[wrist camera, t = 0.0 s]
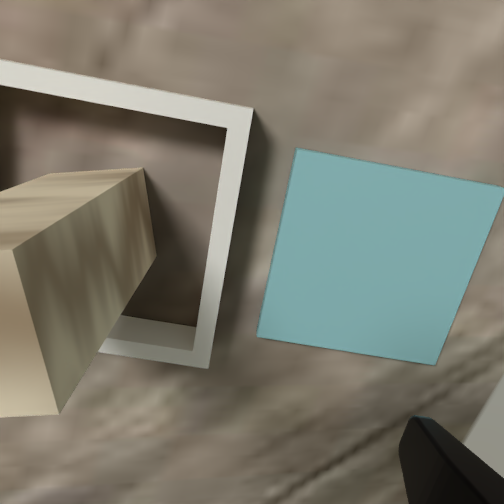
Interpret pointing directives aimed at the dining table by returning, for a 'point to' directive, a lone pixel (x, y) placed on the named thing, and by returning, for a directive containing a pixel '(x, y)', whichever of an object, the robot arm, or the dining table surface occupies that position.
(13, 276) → the birch block
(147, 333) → the tray
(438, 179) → the teal board
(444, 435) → the robot arm
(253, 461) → the dining table surface
